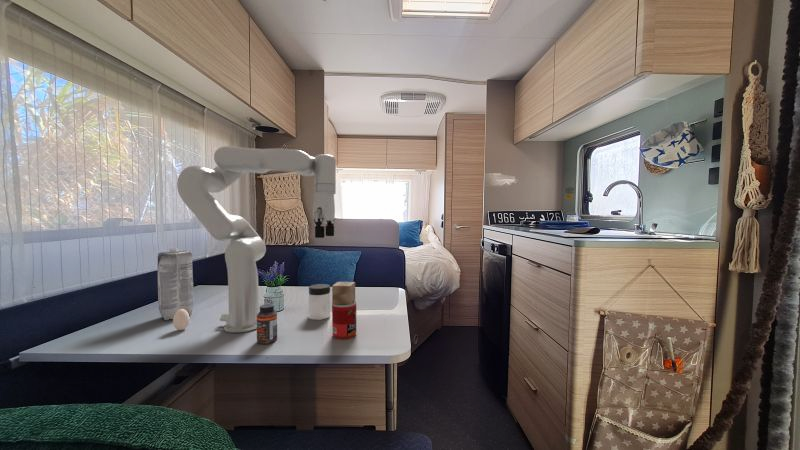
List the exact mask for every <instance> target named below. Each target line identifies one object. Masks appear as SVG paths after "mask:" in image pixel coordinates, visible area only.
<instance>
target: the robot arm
mask: <svg viewBox="0 0 800 450" xmlns="http://www.w3.org/2000/svg"><path fill="white" fill-rule="evenodd" d="M213 160H214V163H215V164H216V166H215V167H214V168H213V169H211V168H208V167H205V166H201V165H190V166H187V167H185V168H183V169H182V171H180V173H179V175H178V177H177V181H176V188H177V192H178V195H179V196H180V198H181V200H182V201H183V203H184V204H185V206H186V207H187V208H188V209H189V210H190V211H191V212H192V214H194V216H195V217H196V219H198V221H199V222H200V223H201V225H202V226H203V228H205V229H206V231H207V232H208V233H209V234H210V236H212V238H214V240H217V241H220V242H226V241H227V242H228V241H230V243H229V244H228V245H226V248H225V251H224V258H225V259H224V261H225V264H226V271H227V286H228V290H227V293H228V296H227V297H228V313H222V314H221V316H220V318H219V321H220V322H225V325H223V326H224V327H223V330H224V332H226V333H233V334H234V333H235V334H237V333H238V334H239V333H246V332H251V331H255V330H257V314H258V313H259V312H260V303H259V300H260V298H259V296H260V295H259V272H258V267H257V262H258V261H259V260H261V259H262V258H263V257H264V256H265V254H266V252H267V247H266V243H265V241H264V239H262V237H261V236H260V235H259V234H258V232H257V231H256V230H255V229H254V228H253V226H252V225H251V224H250V223H249V222H248V220H246V218H244V217H242V216H240V215H237V214H231V213H228V212H227V210H226V209H225V208H224V207H223V206H222V205H221V203H220V202H219V201H218V200H217V199H216V198H215V197H214V196H213V195H211V193H213V194H214V193H215V194H217V193H220V192H222V191H224V190H226V189H227V188H229V186H231V185H232V184H233V183H235V182H236V181H237V180H239V179H240V178H241V177H243V176H244V175H245V174H246V173H252V174H253V173H254V174H267V173H268V172H271V171H272V172H273V171H275V172H278V171H280V172H291V173H296V174H297V175H299V176H302V177H312V176H313V177H314V178H313V180H314V181H313V182H314V183H313V189H314V190H313V194H314V196H313V205H312V219H313V221H314V238H316V239H318V238H319V239H323V238H325V236H326V237H334V236H335V217H336V216H335V213H336V212H335V211H336V209H335V208H336V206H335V195H336V194H337V193H336V191H337V190H336V189H337V187H336V184H337V183H336V182H337V179H336V177H337V172H336V171H337V170H336V165H337V164H336V158H335V156H333V155H331V154H328V153H327V154H326V153H324V154H323V153H321V154H320V153H319V154H316V155H315V157H314V156H311V155H309V154H308V153H306V152H305V151H302V150H299V149H291V148H277V147H276V148H275V147H274V148H253V147H252V148H251V147H250V148H249V147H240V146H229V145H228V146H220V147H219V148H217V149H216V150H215V152H214V153H213ZM324 224H326V225H325V226H324Z"/></svg>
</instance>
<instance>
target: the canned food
mask: <svg viewBox="0 0 800 450" xmlns="http://www.w3.org/2000/svg"><path fill="white" fill-rule="evenodd" d="M331 318H332V319H331V321H332V322H331V324H332V336H333V337H334V338H336V339H337V340H348V339H349V340H350V339H351V338H353V337H355V336H356V334H357V301H356V300H355V301H354V302H353V303H352V304H351V305H339V304H332V303H331Z"/></svg>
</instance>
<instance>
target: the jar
mask: <svg viewBox="0 0 800 450" xmlns="http://www.w3.org/2000/svg"><path fill="white" fill-rule="evenodd" d="M308 311H309V312H308V314H309V315H308V316H309V317H308V319H309V320H314V321H315V320H316V321H321V320H325V319H329V318H331V285H330V284H328V283H318V284H316V283H315V284H311V285H310V286H308Z"/></svg>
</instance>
